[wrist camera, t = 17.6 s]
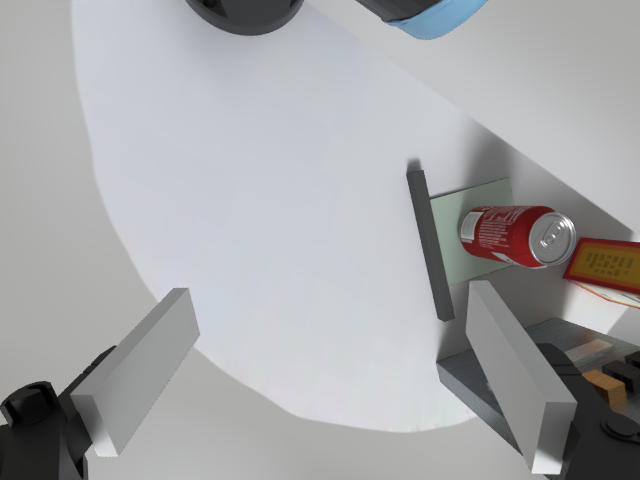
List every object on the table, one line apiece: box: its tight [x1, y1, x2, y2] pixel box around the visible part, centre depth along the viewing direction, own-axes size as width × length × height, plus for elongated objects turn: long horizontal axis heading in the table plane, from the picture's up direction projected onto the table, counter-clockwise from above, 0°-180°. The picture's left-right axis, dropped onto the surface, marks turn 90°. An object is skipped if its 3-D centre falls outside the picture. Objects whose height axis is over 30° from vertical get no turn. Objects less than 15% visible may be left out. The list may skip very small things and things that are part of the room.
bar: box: [406, 170, 455, 322], centre depth 45 cm, size 20×2×2 cm, turn 15°
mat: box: [430, 178, 514, 286], centre depth 47 cm, size 12×12×1 cm
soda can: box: [459, 206, 576, 269], centre depth 41 cm, size 7×7×12 cm
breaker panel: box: [436, 317, 640, 480], centre depth 38 cm, size 5×20×24 cm, turn 105°
